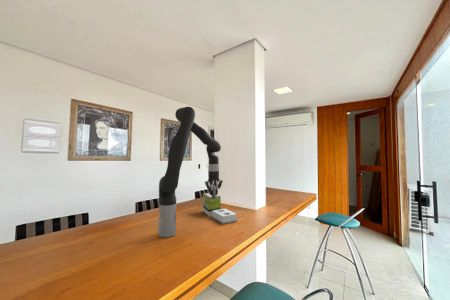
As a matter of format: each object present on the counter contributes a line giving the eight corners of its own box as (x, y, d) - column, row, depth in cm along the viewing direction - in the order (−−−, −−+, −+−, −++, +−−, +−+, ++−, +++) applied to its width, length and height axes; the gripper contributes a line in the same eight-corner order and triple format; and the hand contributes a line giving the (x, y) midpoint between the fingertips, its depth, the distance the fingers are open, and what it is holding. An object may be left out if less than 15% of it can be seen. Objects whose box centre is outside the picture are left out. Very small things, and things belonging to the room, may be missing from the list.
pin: (212, 198, 128) (212, 185, 129) (210, 197, 131) (210, 185, 131) (216, 198, 130) (216, 185, 130) (214, 197, 133) (214, 184, 133)
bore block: (223, 224, 122) (223, 216, 122) (212, 217, 136) (212, 210, 136) (236, 221, 128) (236, 214, 128) (224, 215, 142) (224, 208, 142)
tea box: (202, 211, 152) (202, 193, 152) (213, 210, 156) (213, 192, 156) (208, 216, 138) (208, 196, 139) (221, 215, 142) (221, 195, 143)
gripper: (207, 171, 124) (207, 197, 124) (224, 170, 132) (225, 194, 131) (202, 170, 131) (202, 195, 130) (219, 169, 138) (219, 193, 137)
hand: (213, 194), depth 131 cm, fingers closed on pin, 3 cm apart
